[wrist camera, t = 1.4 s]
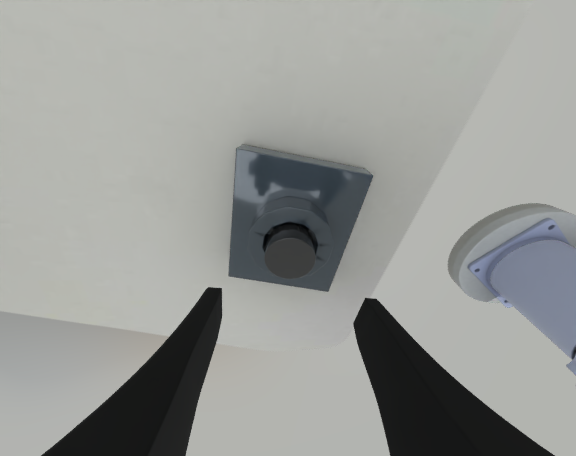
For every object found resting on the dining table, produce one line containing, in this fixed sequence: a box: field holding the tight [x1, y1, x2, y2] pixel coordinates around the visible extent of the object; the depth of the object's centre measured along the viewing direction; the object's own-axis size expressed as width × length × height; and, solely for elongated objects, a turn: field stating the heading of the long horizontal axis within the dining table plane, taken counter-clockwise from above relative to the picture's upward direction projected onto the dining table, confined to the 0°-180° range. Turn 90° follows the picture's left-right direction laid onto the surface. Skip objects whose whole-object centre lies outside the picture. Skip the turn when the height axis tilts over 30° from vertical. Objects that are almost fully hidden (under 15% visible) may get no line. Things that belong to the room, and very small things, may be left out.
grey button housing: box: [228, 144, 373, 292], centre depth 18 cm, size 12×10×4 cm
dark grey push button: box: [264, 224, 316, 279], centre depth 16 cm, size 4×4×2 cm
